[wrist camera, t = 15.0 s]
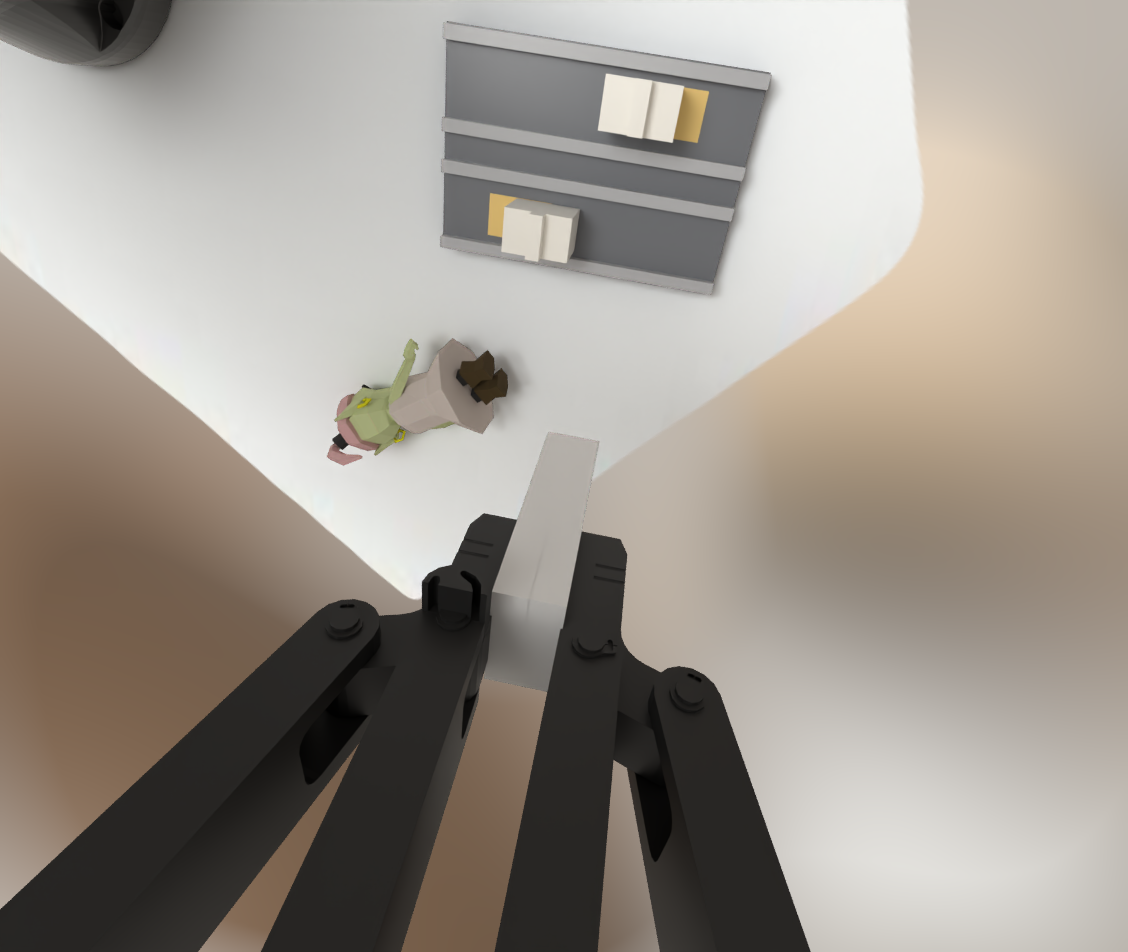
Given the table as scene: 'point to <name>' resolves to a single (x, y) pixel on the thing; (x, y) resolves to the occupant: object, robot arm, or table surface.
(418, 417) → the figurine
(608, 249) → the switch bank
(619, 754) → the robot arm
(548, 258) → the tab
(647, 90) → the tab
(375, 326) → the table surface
